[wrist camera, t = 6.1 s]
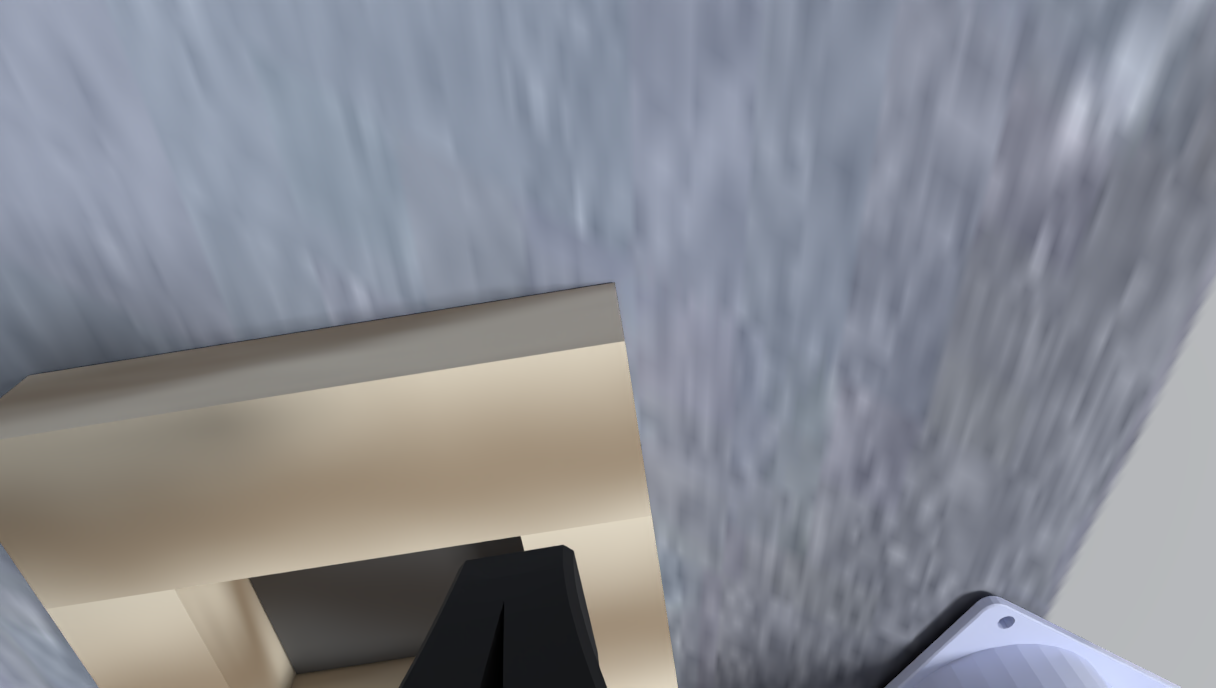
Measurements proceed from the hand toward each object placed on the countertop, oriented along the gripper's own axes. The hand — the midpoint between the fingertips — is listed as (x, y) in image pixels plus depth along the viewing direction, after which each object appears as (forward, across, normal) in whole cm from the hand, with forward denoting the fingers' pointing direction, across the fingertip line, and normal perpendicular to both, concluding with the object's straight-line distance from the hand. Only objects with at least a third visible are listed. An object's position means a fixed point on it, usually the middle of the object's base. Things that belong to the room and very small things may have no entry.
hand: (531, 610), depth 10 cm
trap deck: (+9, +5, +14) cm, 18 cm away
